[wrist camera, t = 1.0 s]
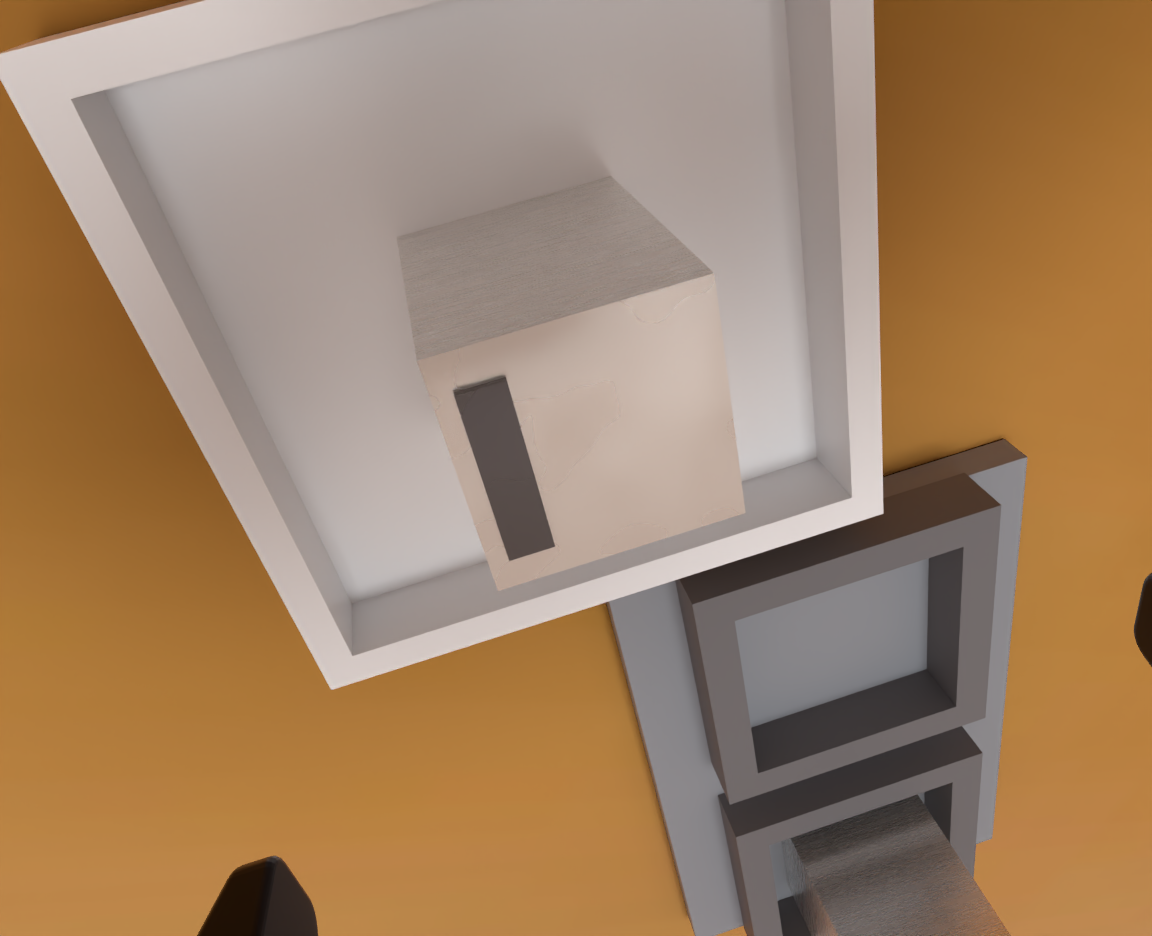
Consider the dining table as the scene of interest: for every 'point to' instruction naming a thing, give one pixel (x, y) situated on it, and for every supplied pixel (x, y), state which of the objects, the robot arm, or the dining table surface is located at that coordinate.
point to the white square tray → (447, 193)
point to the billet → (886, 878)
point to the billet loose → (574, 377)
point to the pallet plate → (830, 684)
